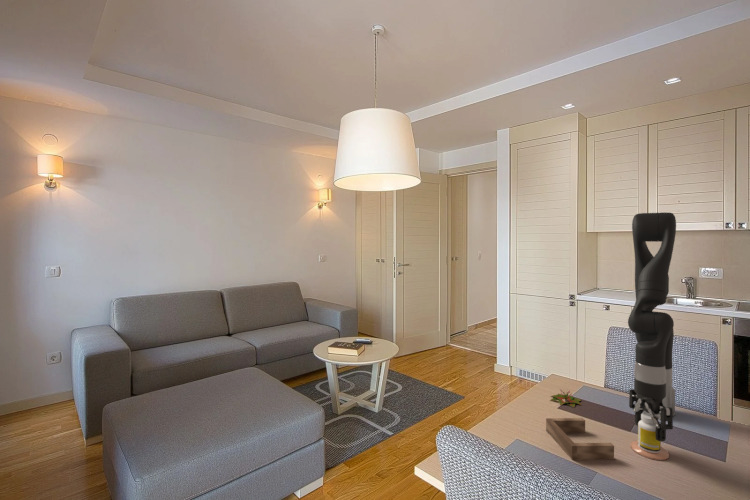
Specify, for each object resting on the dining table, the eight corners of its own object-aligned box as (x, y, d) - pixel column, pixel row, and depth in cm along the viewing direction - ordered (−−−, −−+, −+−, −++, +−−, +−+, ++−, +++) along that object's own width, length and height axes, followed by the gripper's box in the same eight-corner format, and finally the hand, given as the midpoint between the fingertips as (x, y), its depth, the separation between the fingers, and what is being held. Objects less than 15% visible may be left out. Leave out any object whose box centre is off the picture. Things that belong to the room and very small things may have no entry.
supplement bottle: (664, 454, 104) (665, 421, 104) (643, 452, 105) (643, 419, 105) (654, 444, 110) (654, 412, 109) (634, 442, 111) (634, 411, 111)
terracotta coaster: (653, 442, 112) (653, 440, 112) (677, 460, 103) (677, 458, 103) (623, 442, 112) (623, 440, 112) (645, 460, 103) (645, 458, 103)
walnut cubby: (582, 430, 120) (582, 418, 119) (614, 459, 104) (614, 445, 103) (546, 430, 120) (546, 418, 120) (571, 459, 104) (571, 445, 104)
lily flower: (577, 412, 133) (577, 399, 133) (543, 401, 142) (543, 390, 142) (587, 401, 141) (587, 390, 141) (555, 392, 150) (555, 381, 150)
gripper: (683, 388, 100) (682, 446, 100) (644, 369, 114) (644, 420, 114) (655, 388, 100) (655, 446, 100) (620, 369, 114) (620, 420, 114)
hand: (649, 432), depth 107 cm, fingers open, 8 cm apart
